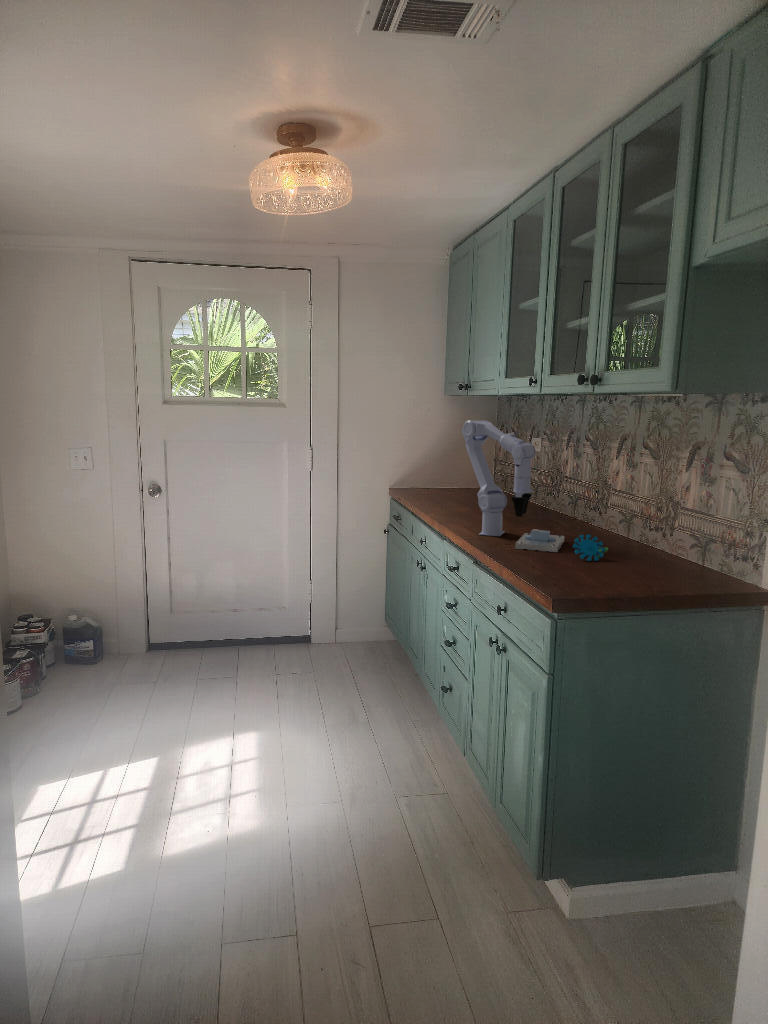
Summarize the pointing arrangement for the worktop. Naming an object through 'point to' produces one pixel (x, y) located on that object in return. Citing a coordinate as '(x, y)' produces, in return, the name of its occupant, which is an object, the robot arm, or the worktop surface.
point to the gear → (589, 548)
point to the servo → (540, 535)
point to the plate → (540, 544)
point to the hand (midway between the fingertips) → (520, 514)
